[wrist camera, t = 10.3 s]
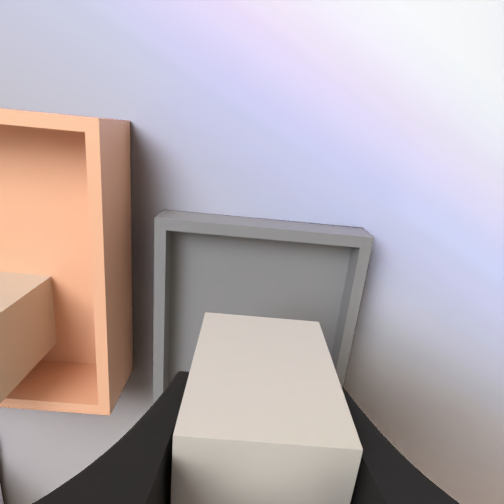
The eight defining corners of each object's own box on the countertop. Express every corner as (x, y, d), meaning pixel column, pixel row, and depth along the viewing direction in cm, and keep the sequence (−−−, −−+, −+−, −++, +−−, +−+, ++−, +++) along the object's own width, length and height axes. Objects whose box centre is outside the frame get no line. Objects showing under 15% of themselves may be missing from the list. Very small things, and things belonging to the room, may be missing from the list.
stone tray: (319, 450, 26) (324, 476, 24) (159, 438, 25) (152, 463, 24) (362, 227, 21) (373, 237, 19) (163, 209, 20) (154, 217, 18)
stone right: (303, 413, 16) (332, 576, 10) (199, 405, 15) (168, 566, 10) (318, 321, 14) (362, 450, 8) (205, 312, 14) (172, 435, 8)
